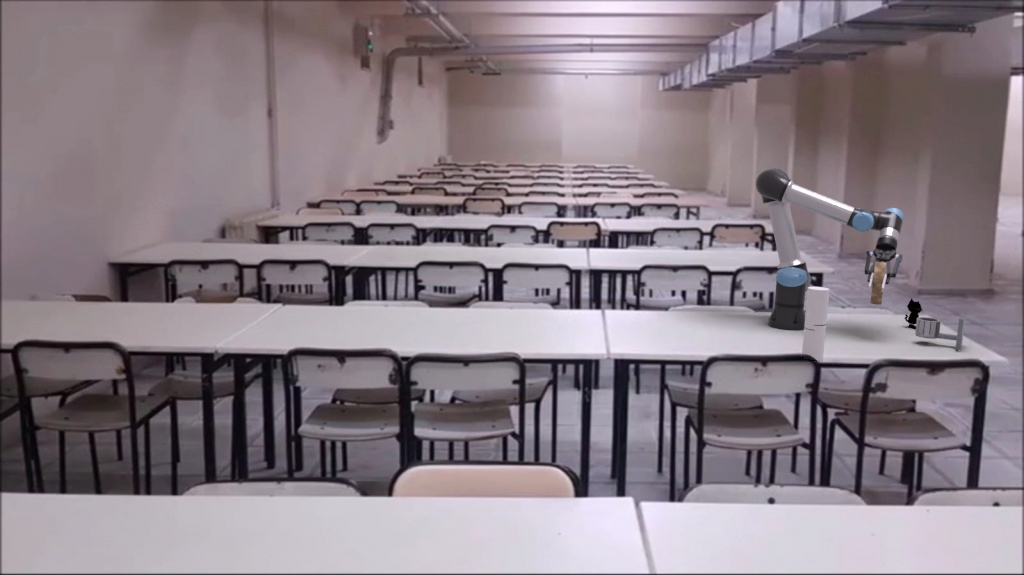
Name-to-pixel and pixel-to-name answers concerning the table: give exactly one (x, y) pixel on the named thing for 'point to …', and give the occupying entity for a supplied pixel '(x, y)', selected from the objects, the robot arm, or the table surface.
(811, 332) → the cylindrical container
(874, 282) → the brown wooden block
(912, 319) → the cat figurine
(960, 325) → the cup bracket
